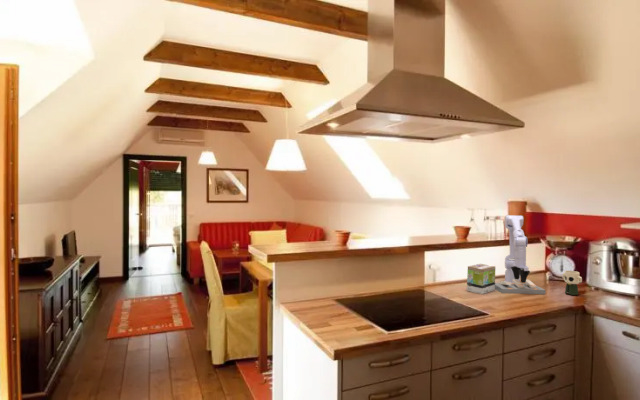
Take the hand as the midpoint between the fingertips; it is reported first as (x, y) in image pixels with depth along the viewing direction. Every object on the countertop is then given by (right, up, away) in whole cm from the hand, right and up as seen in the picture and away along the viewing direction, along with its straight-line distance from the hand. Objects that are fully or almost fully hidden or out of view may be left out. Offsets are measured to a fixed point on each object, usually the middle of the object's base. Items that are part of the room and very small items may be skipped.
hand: (520, 280), depth 207 cm
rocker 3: (+7, -3, +2) cm, 8 cm away
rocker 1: (-7, -3, +3) cm, 8 cm away
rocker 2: (0, -3, +3) cm, 4 cm away
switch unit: (0, -6, +3) cm, 7 cm away
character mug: (+27, -7, -5) cm, 28 cm away
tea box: (-22, -7, +2) cm, 23 cm away
